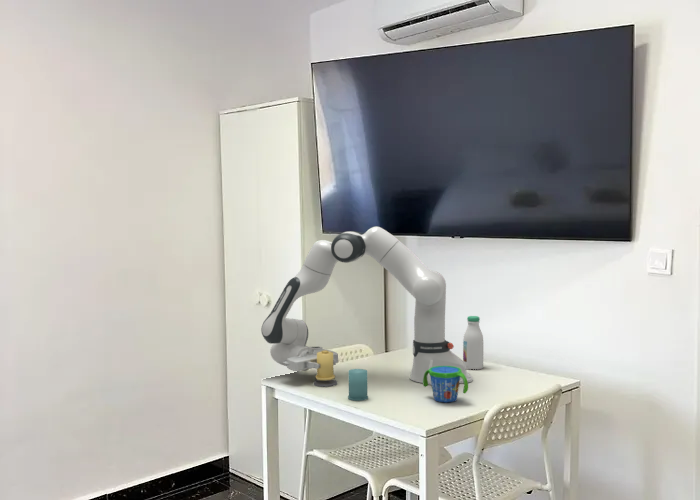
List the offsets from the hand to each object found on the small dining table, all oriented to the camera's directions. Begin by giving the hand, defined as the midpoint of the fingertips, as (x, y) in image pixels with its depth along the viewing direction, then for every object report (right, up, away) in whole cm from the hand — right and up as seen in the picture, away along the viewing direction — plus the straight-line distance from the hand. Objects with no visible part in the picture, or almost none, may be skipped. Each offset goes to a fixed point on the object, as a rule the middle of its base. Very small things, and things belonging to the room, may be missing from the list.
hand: (326, 364), depth 247 cm
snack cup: (+39, -8, -20) cm, 45 cm away
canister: (+11, -8, -17) cm, 22 cm away
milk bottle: (+56, -5, +23) cm, 61 cm away
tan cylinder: (-1, -5, +1) cm, 5 cm away
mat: (-1, -7, +1) cm, 7 cm away
